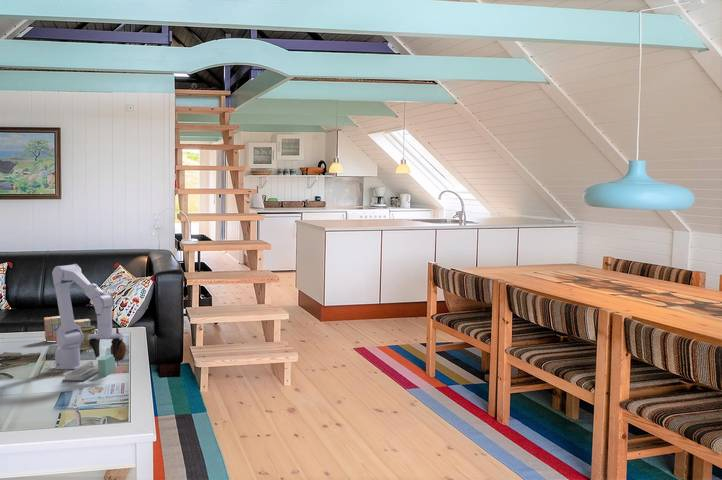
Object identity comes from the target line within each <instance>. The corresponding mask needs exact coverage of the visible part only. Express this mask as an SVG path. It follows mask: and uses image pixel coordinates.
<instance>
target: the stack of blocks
mask: <svg viewBox="0 0 722 480" xmlns="http://www.w3.org/2000/svg"><path fill="white" fill-rule="evenodd" d="M43 322H44V324H43V327H44V339H46V341H56V338H57V332H56V331H57V330H58V329H59V328H60V327H61V319H60V315H56V316H49V317H48V316H46V317H43ZM74 322H75V324H77V325H79V326H92V324H91V319H89V318H84V319H74ZM70 331H72V330H69V331H66V332H70ZM46 341H45V342H46Z"/></svg>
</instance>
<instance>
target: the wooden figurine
mask: <svg viewBox="0 0 722 480" xmlns="http://www.w3.org/2000/svg"><path fill="white" fill-rule="evenodd" d="M118 327H119V326H117V325H116V327H115V328H116V331H115V334H121V332H119V331H120V330H119V328H118ZM112 340H114V339H111V341H112ZM126 353H127V345H126V343H125V342H124V338H123V339H122V342H121V344H120V346H119V349H118V354H117V357H115V360H121V359H124V358H125V355H126ZM110 355H113V347H112V344H111V345H110Z"/></svg>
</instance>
